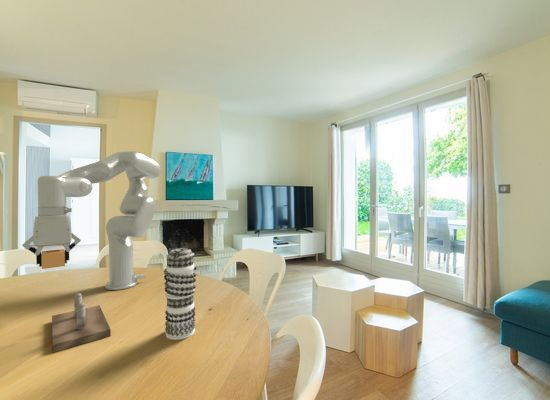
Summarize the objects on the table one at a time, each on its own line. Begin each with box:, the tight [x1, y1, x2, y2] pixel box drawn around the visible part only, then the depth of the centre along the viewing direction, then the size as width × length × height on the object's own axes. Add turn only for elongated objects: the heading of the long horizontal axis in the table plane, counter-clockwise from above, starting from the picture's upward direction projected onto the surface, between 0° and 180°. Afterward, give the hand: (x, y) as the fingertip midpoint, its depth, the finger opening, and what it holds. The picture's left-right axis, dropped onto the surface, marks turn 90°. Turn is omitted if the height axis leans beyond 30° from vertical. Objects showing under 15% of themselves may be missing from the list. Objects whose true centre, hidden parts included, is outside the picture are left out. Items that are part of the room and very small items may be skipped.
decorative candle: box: [163, 247, 197, 341], centre depth 80 cm, size 9×9×25 cm
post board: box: [51, 292, 112, 353], centre depth 83 cm, size 13×22×10 cm, turn 40°
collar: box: [41, 248, 66, 270], centre depth 92 cm, size 6×6×5 cm
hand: (53, 263), depth 92 cm, fingers closed on collar, 5 cm apart
